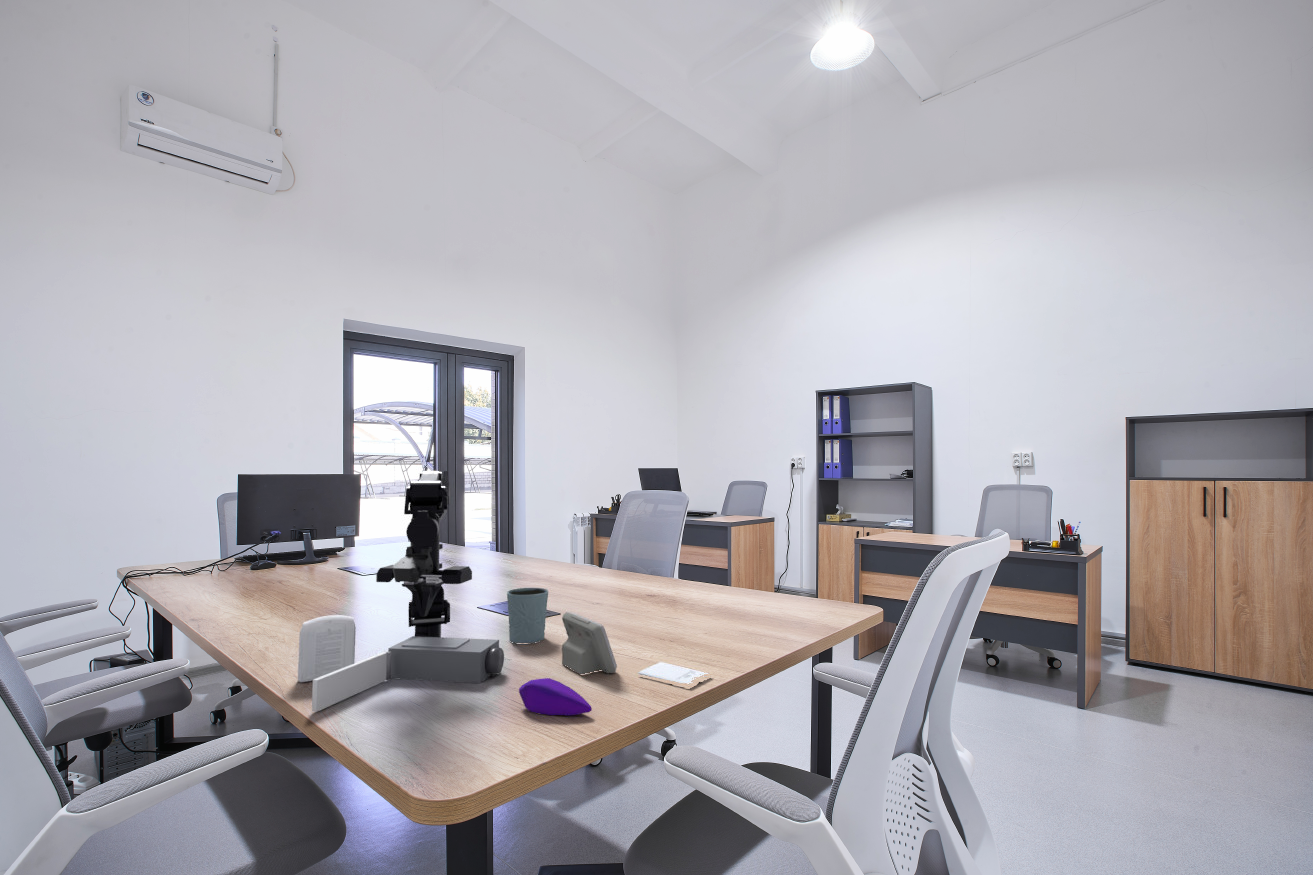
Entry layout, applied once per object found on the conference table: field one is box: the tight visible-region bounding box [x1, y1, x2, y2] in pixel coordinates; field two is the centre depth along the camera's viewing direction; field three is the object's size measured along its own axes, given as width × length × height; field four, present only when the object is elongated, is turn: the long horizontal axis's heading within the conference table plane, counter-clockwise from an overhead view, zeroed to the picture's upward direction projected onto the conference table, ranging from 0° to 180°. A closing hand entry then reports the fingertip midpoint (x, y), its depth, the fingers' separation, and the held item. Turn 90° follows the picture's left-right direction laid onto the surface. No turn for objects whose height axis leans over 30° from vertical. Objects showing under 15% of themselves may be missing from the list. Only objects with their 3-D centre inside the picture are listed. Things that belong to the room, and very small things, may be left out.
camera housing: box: [387, 635, 505, 684], centre depth 125 cm, size 9×22×6 cm, turn 81°
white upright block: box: [297, 614, 357, 683], centre depth 124 cm, size 10×4×12 cm, turn 123°
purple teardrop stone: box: [518, 677, 592, 716], centre depth 105 cm, size 5×5×15 cm
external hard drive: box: [637, 661, 708, 684], centre depth 122 cm, size 2×8×12 cm
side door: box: [311, 651, 392, 713], centre depth 113 cm, size 2×18×5 cm, turn 162°
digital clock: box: [561, 611, 618, 675], centre depth 129 cm, size 16×9×11 cm, turn 24°
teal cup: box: [506, 587, 549, 644], centre depth 150 cm, size 10×10×12 cm
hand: (423, 615), depth 125 cm, fingers closed
